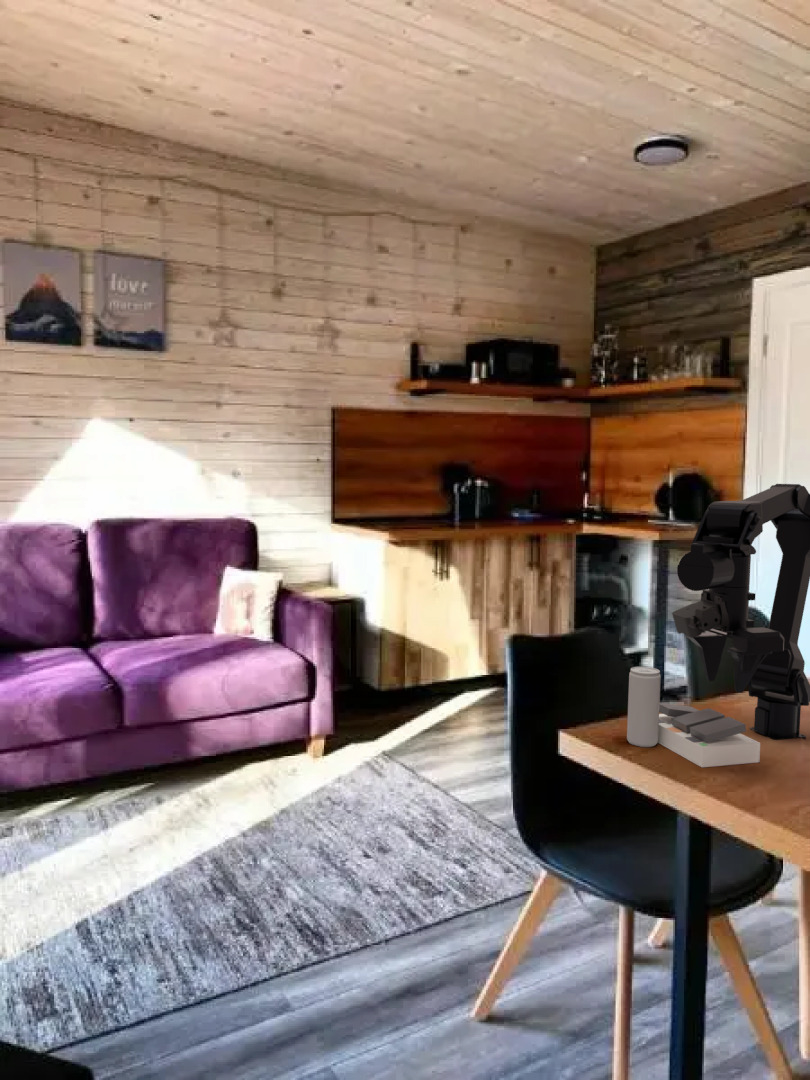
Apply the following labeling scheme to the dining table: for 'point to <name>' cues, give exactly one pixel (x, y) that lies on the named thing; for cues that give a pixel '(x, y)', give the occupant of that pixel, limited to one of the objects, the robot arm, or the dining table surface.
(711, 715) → the block
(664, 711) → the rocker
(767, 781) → the dining table surface
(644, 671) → the beverage can
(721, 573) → the robot arm
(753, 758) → the rocker switch panel
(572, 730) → the dining table surface
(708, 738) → the block
